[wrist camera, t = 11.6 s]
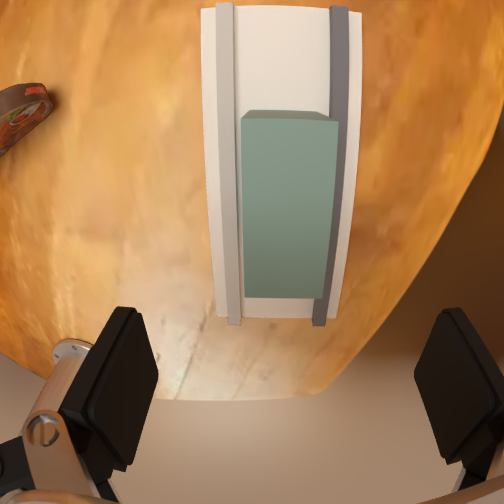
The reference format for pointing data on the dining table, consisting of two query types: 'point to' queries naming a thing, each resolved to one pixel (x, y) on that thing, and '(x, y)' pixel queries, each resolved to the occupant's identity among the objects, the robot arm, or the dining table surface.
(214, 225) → the white railed tray
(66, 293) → the dining table surface
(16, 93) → the tin
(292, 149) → the tea box
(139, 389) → the robot arm
